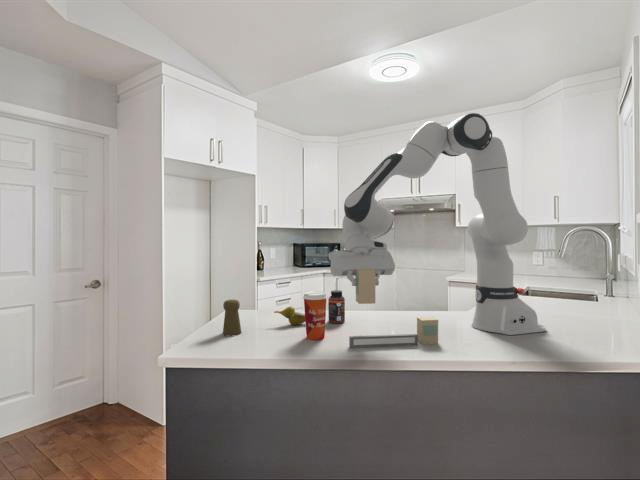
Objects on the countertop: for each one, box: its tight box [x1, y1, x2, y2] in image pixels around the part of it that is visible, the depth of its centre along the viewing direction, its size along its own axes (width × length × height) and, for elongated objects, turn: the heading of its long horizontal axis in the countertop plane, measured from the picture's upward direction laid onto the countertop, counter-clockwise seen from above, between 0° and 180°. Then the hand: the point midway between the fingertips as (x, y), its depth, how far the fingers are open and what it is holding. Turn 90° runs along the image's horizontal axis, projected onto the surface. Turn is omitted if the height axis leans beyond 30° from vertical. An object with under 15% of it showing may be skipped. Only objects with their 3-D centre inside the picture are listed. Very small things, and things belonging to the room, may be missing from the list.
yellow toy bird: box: [273, 306, 306, 326], centre depth 132 cm, size 4×15×6 cm, turn 98°
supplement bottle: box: [327, 289, 346, 324], centre depth 136 cm, size 6×6×11 cm
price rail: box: [348, 333, 419, 349], centre depth 108 cm, size 20×1×3 cm, turn 95°
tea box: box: [416, 316, 439, 345], centre depth 112 cm, size 5×4×7 cm
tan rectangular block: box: [355, 269, 376, 305], centre depth 114 cm, size 5×5×10 cm
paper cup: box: [302, 290, 328, 341], centre depth 117 cm, size 8×8×14 cm
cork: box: [222, 299, 242, 337], centre depth 122 cm, size 6×6×11 cm
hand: (365, 284), depth 113 cm, fingers closed on tan rectangular block, 5 cm apart
